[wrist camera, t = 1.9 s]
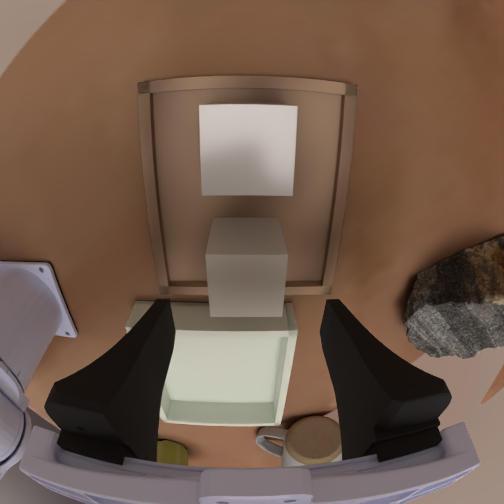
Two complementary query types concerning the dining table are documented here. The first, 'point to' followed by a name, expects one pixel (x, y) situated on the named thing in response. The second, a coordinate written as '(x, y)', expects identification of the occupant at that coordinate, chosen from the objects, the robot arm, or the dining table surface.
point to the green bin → (226, 366)
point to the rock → (459, 303)
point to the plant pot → (171, 453)
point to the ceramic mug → (304, 441)
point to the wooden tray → (245, 206)
